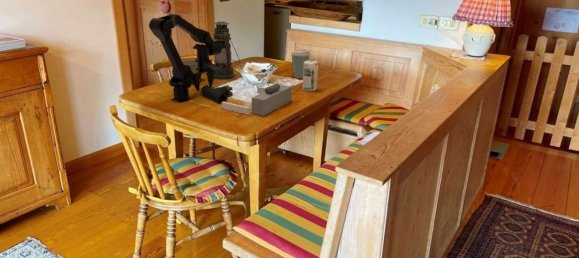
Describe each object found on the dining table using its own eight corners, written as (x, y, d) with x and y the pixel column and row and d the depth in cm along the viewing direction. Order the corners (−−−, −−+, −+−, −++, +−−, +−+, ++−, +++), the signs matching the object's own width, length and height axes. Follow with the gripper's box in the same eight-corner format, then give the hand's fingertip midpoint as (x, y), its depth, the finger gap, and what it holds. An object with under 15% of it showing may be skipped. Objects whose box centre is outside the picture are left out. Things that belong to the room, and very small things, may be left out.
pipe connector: (221, 81, 209) (239, 88, 198) (221, 91, 211) (239, 99, 201) (200, 85, 202) (217, 93, 192) (201, 96, 204) (218, 104, 194)
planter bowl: (207, 77, 234) (206, 57, 230) (202, 85, 219) (201, 64, 215) (177, 76, 234) (176, 56, 229) (171, 84, 219) (169, 63, 214)
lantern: (205, 73, 241) (203, 19, 230) (229, 70, 248) (227, 17, 237) (219, 82, 226) (217, 24, 214) (244, 78, 233) (243, 22, 222)
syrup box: (302, 90, 216) (303, 62, 211) (307, 87, 221) (308, 59, 215) (312, 92, 214) (313, 63, 208) (317, 89, 219) (318, 61, 213)
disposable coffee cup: (287, 78, 237) (288, 51, 231) (293, 73, 246) (294, 47, 240) (306, 80, 234) (307, 52, 228) (311, 75, 243) (312, 49, 238)
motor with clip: (260, 117, 178) (260, 94, 175) (221, 108, 187) (221, 86, 184) (293, 99, 202) (294, 79, 198) (258, 92, 211) (258, 72, 207)
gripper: (203, 63, 191) (204, 96, 197) (228, 56, 206) (229, 87, 212) (184, 60, 196) (186, 92, 202) (210, 53, 211) (211, 83, 217)
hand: (204, 89), depth 208 cm, fingers open, 9 cm apart
